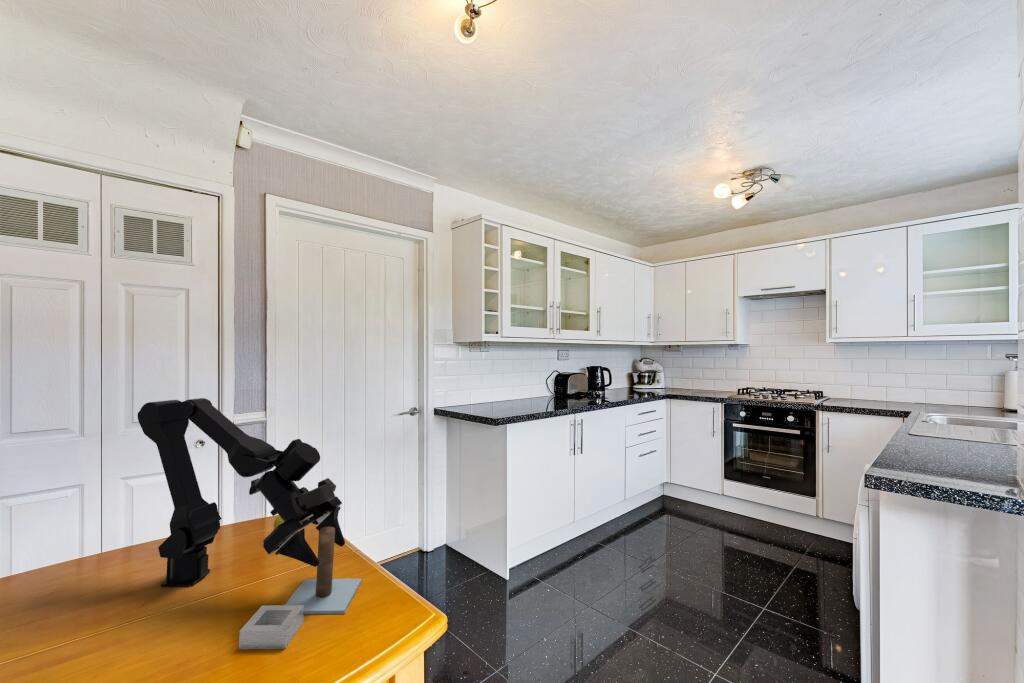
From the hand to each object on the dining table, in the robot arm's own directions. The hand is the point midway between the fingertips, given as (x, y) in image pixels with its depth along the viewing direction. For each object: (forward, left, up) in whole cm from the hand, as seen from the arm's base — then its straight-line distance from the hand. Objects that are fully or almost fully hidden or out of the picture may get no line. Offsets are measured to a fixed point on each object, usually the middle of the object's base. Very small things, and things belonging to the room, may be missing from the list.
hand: (331, 554), depth 90 cm
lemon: (-21, +28, -9) cm, 36 cm away
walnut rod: (-1, 0, -8) cm, 8 cm away
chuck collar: (-6, -12, -9) cm, 16 cm away
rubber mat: (-1, 0, -9) cm, 9 cm away
